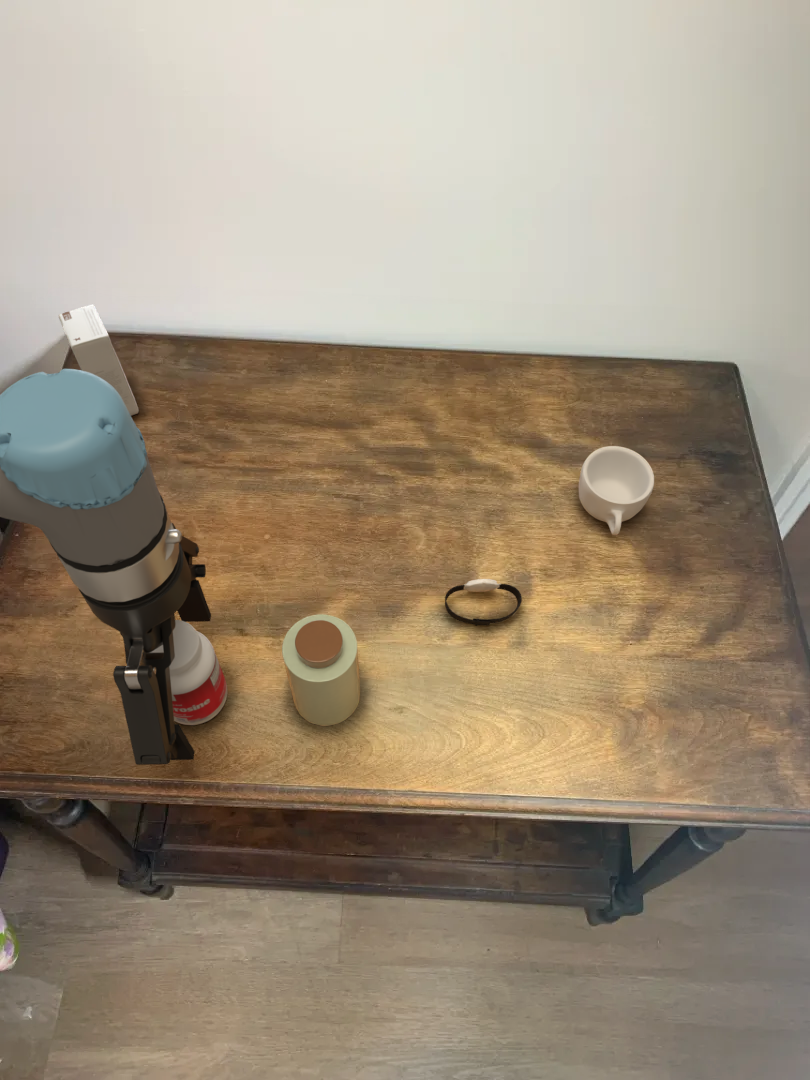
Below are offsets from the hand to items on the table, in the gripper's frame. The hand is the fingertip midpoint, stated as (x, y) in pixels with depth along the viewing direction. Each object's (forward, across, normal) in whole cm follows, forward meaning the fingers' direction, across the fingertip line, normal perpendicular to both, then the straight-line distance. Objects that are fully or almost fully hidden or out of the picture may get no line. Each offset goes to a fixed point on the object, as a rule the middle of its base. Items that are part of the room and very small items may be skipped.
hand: (188, 683), depth 75 cm
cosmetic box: (+3, +38, +14) cm, 41 cm away
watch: (+3, +9, -28) cm, 30 cm away
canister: (+3, 0, -13) cm, 13 cm away
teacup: (+3, +21, -43) cm, 48 cm away
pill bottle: (+3, 0, 0) cm, 3 cm away
